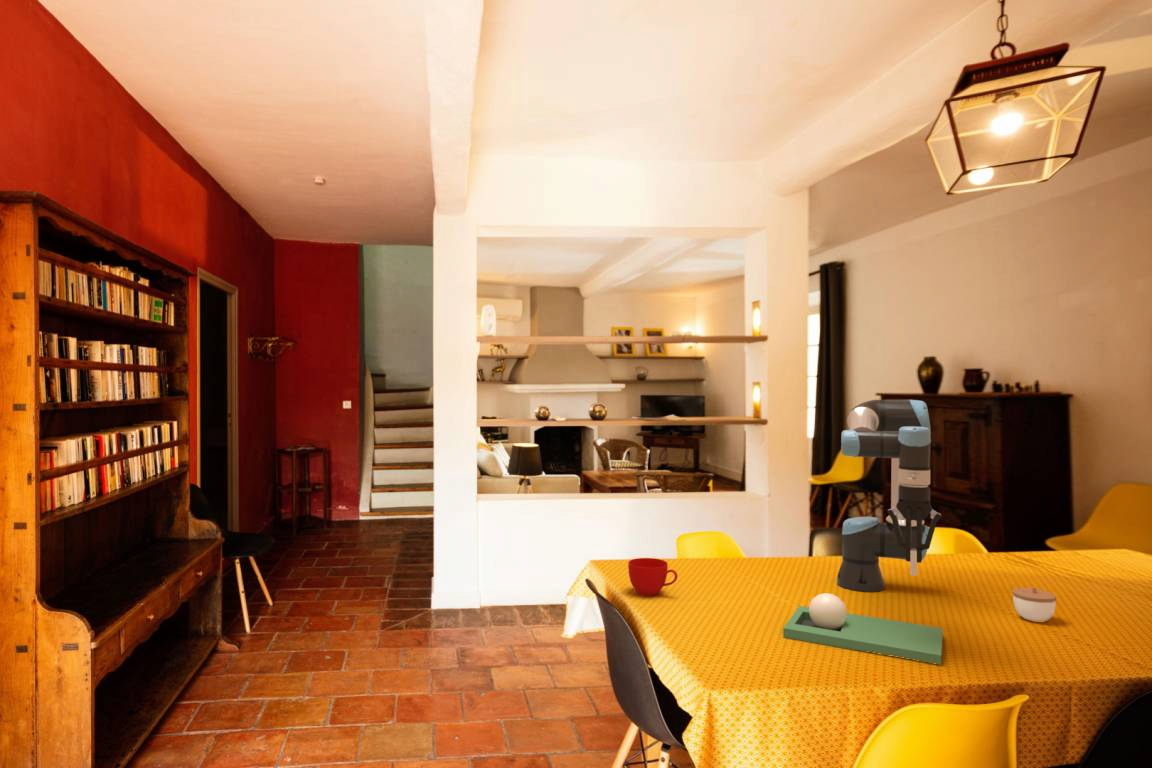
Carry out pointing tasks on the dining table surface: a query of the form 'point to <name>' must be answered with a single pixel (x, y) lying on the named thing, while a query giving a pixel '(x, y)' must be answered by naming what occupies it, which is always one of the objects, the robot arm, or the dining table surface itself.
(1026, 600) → the lidded jar
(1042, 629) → the dining table surface
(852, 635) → the putting board
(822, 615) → the ball
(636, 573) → the ceramic cup
